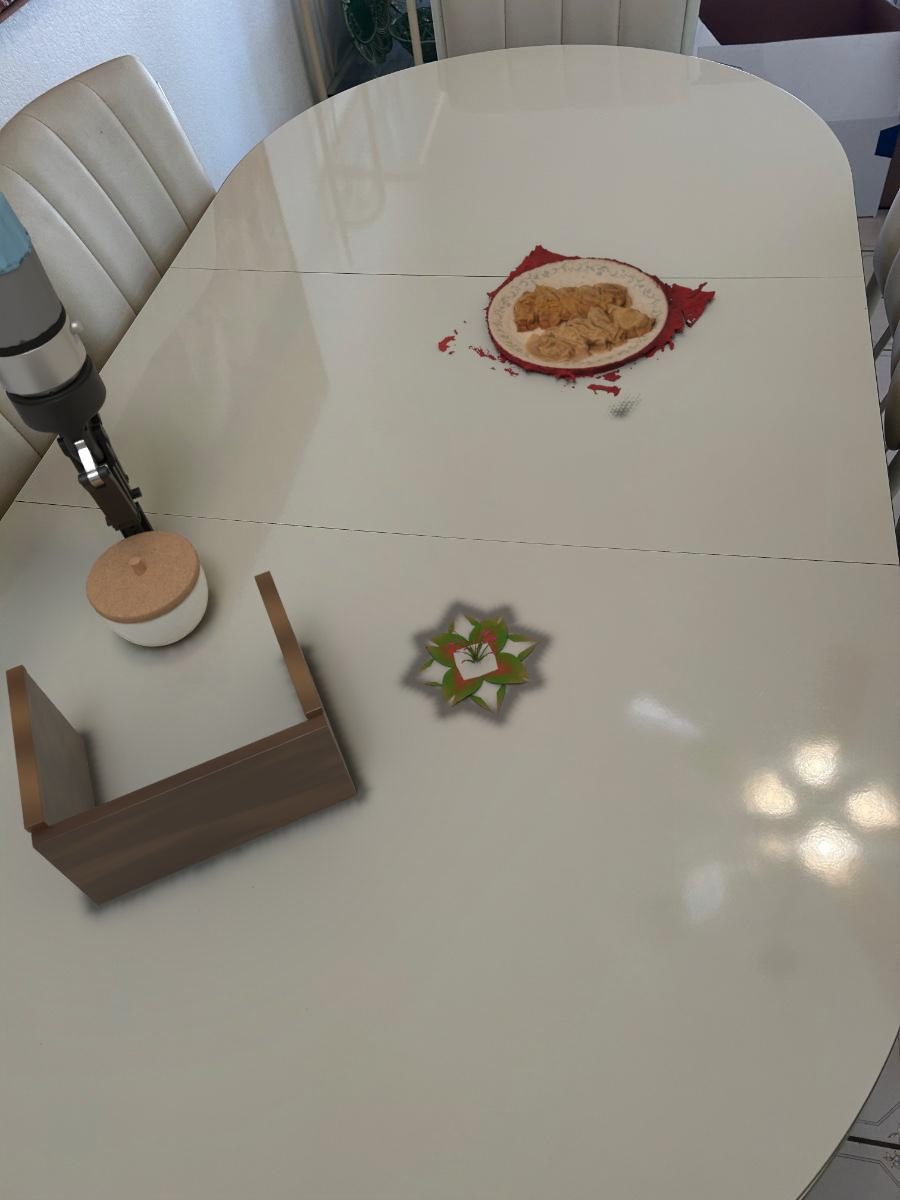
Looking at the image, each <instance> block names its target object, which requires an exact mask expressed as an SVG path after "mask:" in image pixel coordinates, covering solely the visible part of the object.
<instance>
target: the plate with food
mask: <svg viewBox="0 0 900 1200" xmlns="http://www.w3.org/2000/svg"><path fill="white" fill-rule="evenodd" d="M514 269H515V270H510V272H509V276H508V277H507V278H506V279H505V280H504V281H503V282H502V283H501V284H500V285H499V286H498V287H497V288H495V289H494V290H493V291H490V292H486V296H488V299H490V301H489V303H488V306H486V307H484V308H483V309H482V310H481V312H482V313H483V311H485V314H486V316H485V317H484V321H485V322H486V324H487V330H488V331H487V333H488V335H489V338H490V340H491V342H492V343H493V345H494V346H495V348H496V349H497V350H498V351H499V352H500V354H499V355H498V356H497V358H496V357H495V356H494V355H492V353H491V354H490V350H489V348H486V349H483V348H482V347H481V346H479V348H478V347H475V346H473V345H469V346H468V349H469V350H471V349H472V350H473V351H474V352H476V354H477V355H478V356H480V357H481V358H482V357H483V358H488V359H490V360H492V361H496V360H498V362H500V363H501V364H506V363H507V361H508V362H510V363H509V366H510V367H508V368H507V367H505V368H504V369H503V370H504V371H505V372H507V373H508V374H510V376H513V377H514V378H516V377H517V376H519V372H515V371H513V369H515V365H517V366H518V367H520V368H519V369H521V368H523V370H522V372H524V371H525V370H526V371H525V373H528V371H531V372H533V373H540V374H544V375H549V376H554V378H555V379H558V378H559V377H564V381H566V382H568V381H570V380H571V379H572V381H573V382H575V381H576V380H577V379H579V378H581V377H582V378H583V379H585V377H590V378H595V379H601V378H603V379H604V380H607V381H610V382H614V381H617V380H620V378H621V377H622V375H620V374H618V373H620V372H621V370H620V368H623V367H624V366H625V365H626V364H628V363H632V362H633V361H636V360H638V359H640V358H641V357H644V356H646V357H645V359H649V358H652V357H654V356H655V354H656V352H657V351H658V350H660V351H661V352H662V353H665V349H666V347H665V345H667V344H668V343H669V350H671V351H673V349H674V347H675V342H673V341H672V340H671V337H672V336H674V335H675V334H676V332H682V331H683V330H684V328H685V324H684V322H685V323H686V324H687V325H688V326H689V327H693V325H694V324H695V322H696V321H697V320H698V319H699V317H700V316H701V315H702V314H703V312H704V310H705V307H706V305H707V303H708V302H711V301H712V300H713V298H714V297H715V295H716V291H715V290H713V291H712V290H709V291H705V290H702V289H703V288H704V287H705V286H707V284H708V282H707V281H705V282H703V283H700V284H698V288H695V289H693V288H691V287H686V286H683V285H679V284H677V283H672V284H671V285H670V284H668V282H665V283H664V281H662V280H661V279H660V278H659V277H658V276H657V274H654V275H653V274H649V273H648V272H645V271H643V270H642V269H640V268H639V267H637V266H635V265H632V264H630V263H627V262H625V261H619V260H617V259H615V258H609V257H608V258H607V257H604V258H603V257H601V258H600V257H593V256H592V257H590V256H588V257H581V256H579V255H573V256H571V255H570V256H567V255H563V254H560V253H556V252H552V251H549V250H548V249H547V248H544V247H543V245H541V244H539V245H537V244H536V245H535V246H534V249H531V251H530V252H529V254H528V255H525V257H524V258H523V260H522V262H521V263H520V264H519V265H517V266H516V267H515V268H514ZM463 323H465V324H467V321H466V320H463ZM457 325H459V324H457ZM453 331H454V334H455V335H448V336H445V337H444V338H443V340H441V341H438V344H437V347H438V349H440V350H441V351H442V352H443V353H445V352H446V351H447V350H448V349H450V348H451V346H450V345H449V344H448V343H450V342H451V341H452V342H455V341H456V340H457V339H456V338H455V337H456V336H457V335H458V334H459V332H458V331H457V329H453ZM447 344H448V345H447ZM453 346H454V347H456V346H457V345H456V344H454V345H453ZM473 347H474V348H473ZM486 351H487V352H486ZM485 352H486V353H485ZM661 352H660V353H661ZM455 353H456V351H454V350H451V351H449V352H448V354H450V355H452V354H455ZM656 361H659V358H656ZM511 365H514V366H511ZM633 365H636V362H634V363H633ZM491 369H493V370H495V371H496V368H495V367H494V366H491ZM629 369H630V370H633V367H629ZM599 374H601V375H599ZM595 375H598V376H595ZM563 387H566V384H564V385H563ZM571 388H572V389H575V388H576V387H575V385H572V386H571ZM586 388H587V389H588V390H591V391H592V392H594V395H598V392H596V391H597V390H603V391H606V392H607V393H606V394H607V395H608V394H611V393H612V394H613V397H618V395H620V391H621V390H622V387H618V385H613V386H612V385H611V386H610V385H609V386H607V385H603V384H597V383H596V384H595V383H590V384H589V385H588V386H587V387H586ZM560 392H563V391H562V390H561V391H560Z"/></svg>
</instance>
